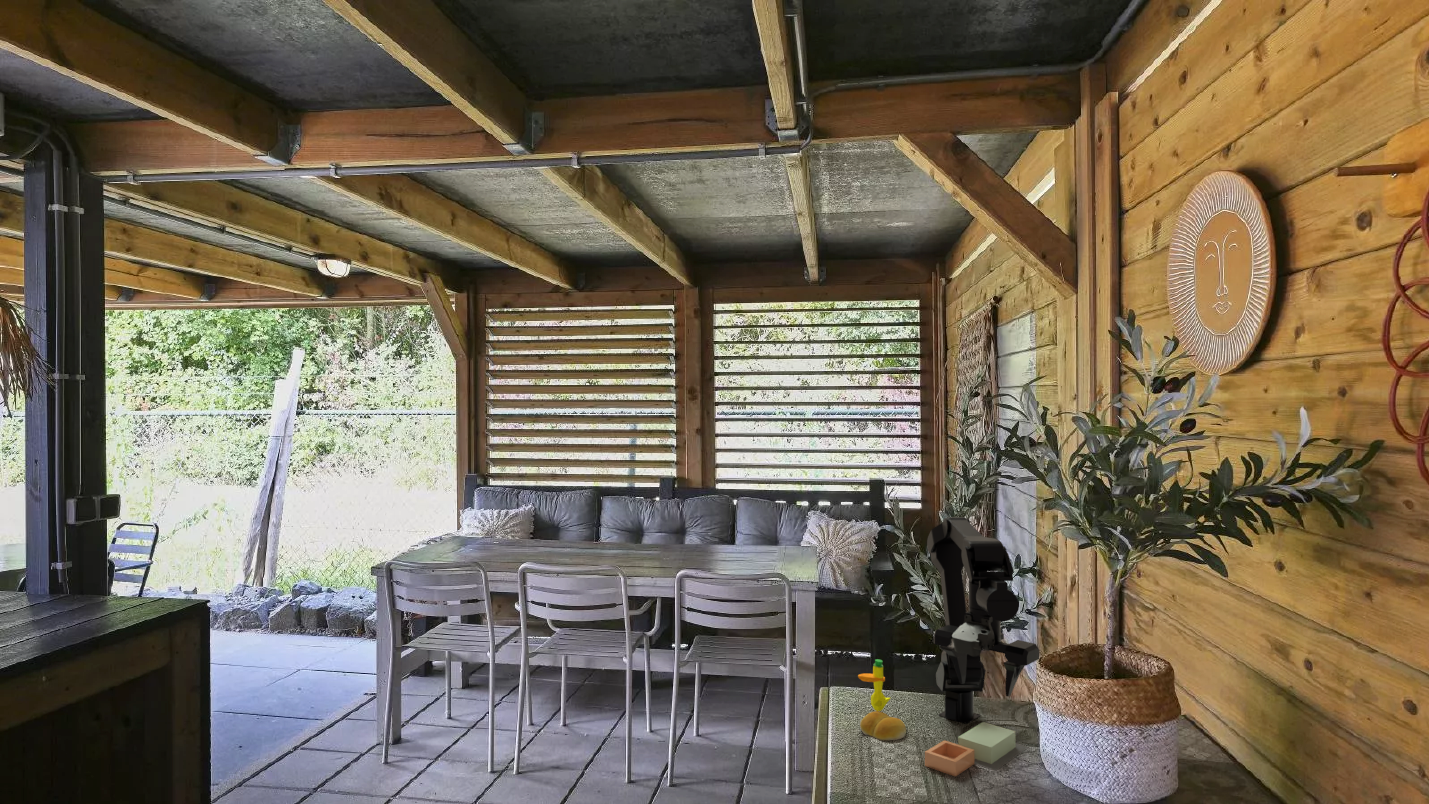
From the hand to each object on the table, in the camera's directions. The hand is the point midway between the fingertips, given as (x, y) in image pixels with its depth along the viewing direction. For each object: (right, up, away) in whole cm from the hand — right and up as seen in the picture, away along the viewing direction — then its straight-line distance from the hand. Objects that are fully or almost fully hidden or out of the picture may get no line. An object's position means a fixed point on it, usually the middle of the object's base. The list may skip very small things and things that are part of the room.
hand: (984, 689), depth 150 cm
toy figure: (-17, -12, +18) cm, 28 cm away
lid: (0, -11, 0) cm, 11 cm away
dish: (-9, -12, -6) cm, 16 cm away
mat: (0, -12, 0) cm, 12 cm away
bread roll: (-17, -13, +9) cm, 23 cm away
